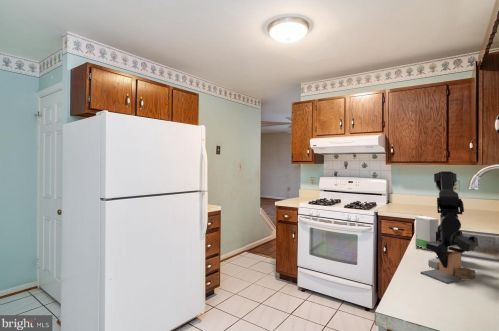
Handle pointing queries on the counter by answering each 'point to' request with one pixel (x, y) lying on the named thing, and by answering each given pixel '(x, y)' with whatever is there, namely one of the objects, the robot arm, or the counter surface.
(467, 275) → the walnut block
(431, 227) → the skincare box
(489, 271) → the counter surface
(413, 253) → the counter surface
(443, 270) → the terracotta block
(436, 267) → the grey plastic block
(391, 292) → the counter surface
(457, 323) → the counter surface
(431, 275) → the charcoal mat
